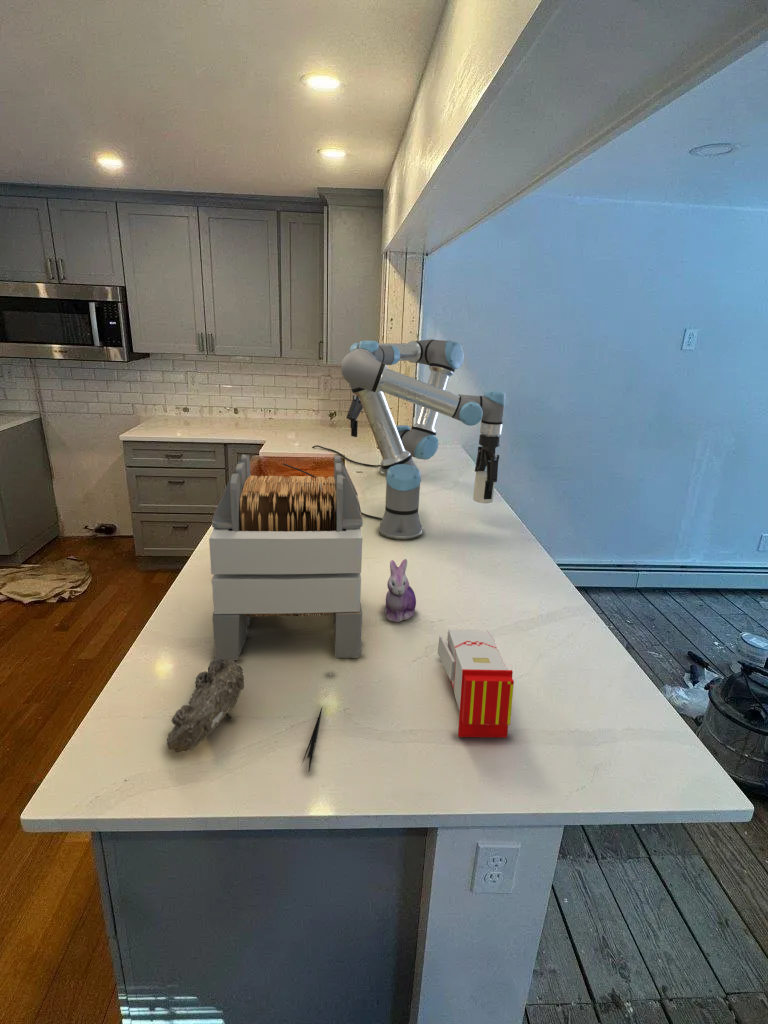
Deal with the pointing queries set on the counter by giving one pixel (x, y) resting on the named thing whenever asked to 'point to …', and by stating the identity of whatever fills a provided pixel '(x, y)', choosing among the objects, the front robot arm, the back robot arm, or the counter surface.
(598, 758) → the counter surface
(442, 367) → the back robot arm
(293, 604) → the grey record crate stand
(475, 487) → the canister
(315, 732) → the feather
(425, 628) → the counter surface
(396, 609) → the figurine
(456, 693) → the toy
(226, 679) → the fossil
